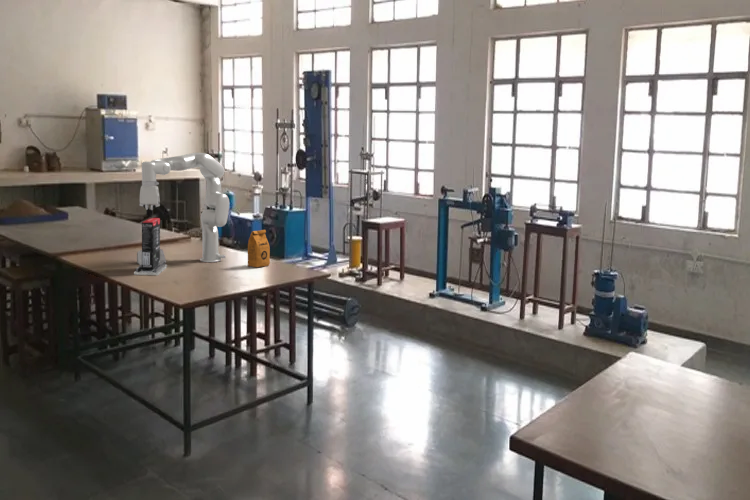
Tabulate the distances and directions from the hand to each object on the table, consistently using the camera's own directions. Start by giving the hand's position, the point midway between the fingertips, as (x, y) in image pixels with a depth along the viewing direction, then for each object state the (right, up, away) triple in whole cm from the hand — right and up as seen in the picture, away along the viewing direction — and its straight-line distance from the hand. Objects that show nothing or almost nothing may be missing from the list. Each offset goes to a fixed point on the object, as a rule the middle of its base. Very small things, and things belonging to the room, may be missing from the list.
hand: (149, 216), depth 381 cm
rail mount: (-1, -31, +6) cm, 31 cm away
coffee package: (+56, -29, +29) cm, 69 cm away
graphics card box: (-1, -29, +6) cm, 29 cm away
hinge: (-8, -27, +28) cm, 39 cm away
